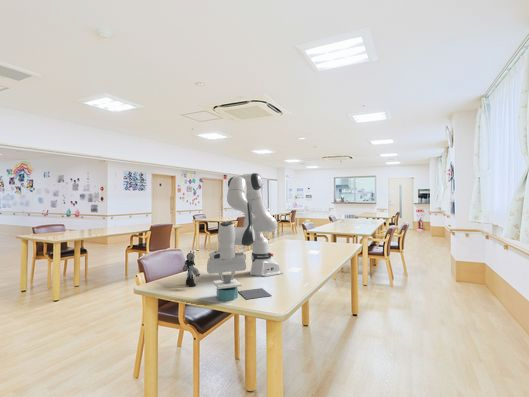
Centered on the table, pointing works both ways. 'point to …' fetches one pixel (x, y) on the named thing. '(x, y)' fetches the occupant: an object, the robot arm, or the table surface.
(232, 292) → the bowl
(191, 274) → the robot
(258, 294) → the mat
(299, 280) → the table surface
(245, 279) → the table surface
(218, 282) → the cover sheet
